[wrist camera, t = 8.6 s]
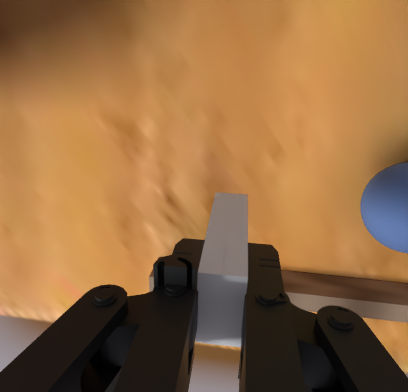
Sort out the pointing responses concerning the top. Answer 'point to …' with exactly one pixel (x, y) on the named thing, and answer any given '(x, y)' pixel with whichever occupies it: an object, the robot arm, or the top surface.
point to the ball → (388, 207)
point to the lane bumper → (344, 294)
